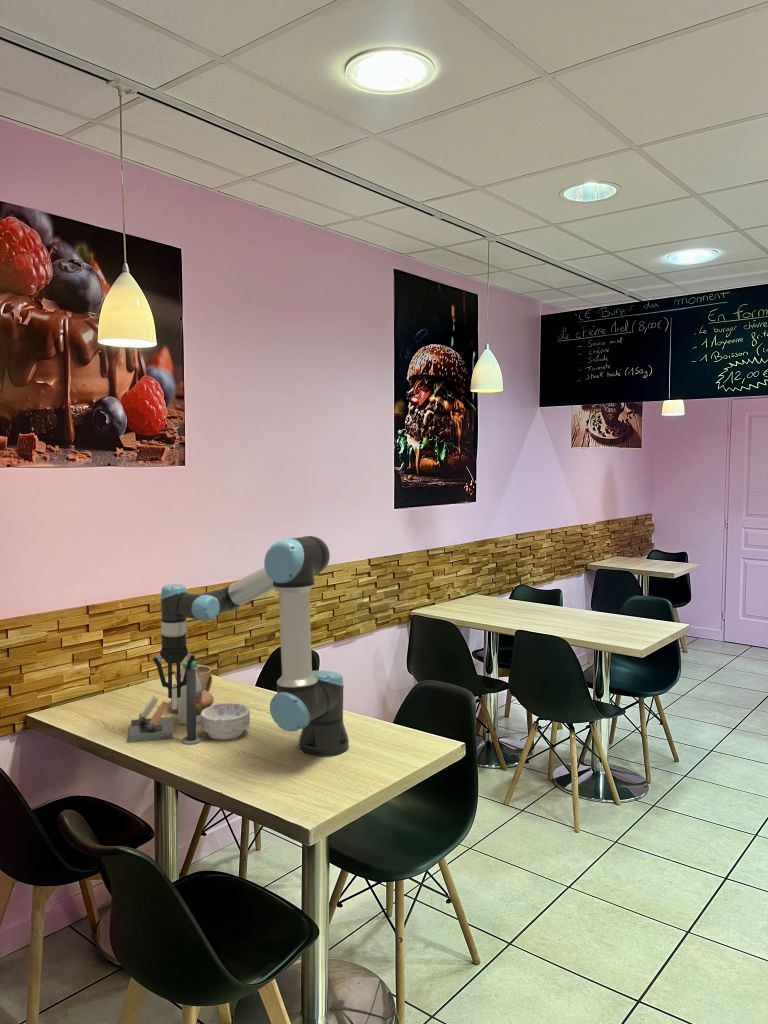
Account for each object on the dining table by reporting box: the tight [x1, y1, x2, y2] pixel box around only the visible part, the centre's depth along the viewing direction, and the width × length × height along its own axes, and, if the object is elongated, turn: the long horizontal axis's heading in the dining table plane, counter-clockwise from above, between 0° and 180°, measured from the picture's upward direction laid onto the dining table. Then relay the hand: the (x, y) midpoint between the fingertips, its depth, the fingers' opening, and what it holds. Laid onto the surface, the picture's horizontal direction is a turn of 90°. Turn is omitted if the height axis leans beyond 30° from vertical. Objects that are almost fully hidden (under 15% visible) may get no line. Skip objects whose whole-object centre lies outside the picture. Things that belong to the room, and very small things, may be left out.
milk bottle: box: [177, 660, 203, 726], centre depth 251 cm, size 8×8×20 cm
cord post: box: [181, 669, 203, 746], centre depth 233 cm, size 6×6×22 cm
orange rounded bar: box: [148, 700, 169, 730], centre depth 238 cm, size 5×2×8 cm
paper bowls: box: [200, 702, 251, 741], centre depth 239 cm, size 15×15×8 cm
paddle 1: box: [138, 694, 159, 723], centre depth 244 cm, size 5×2×8 cm
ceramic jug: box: [170, 664, 215, 711], centre depth 265 cm, size 18×14×14 cm
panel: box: [128, 716, 174, 743], centre depth 241 cm, size 14×13×3 cm
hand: (174, 707), depth 239 cm, fingers closed
